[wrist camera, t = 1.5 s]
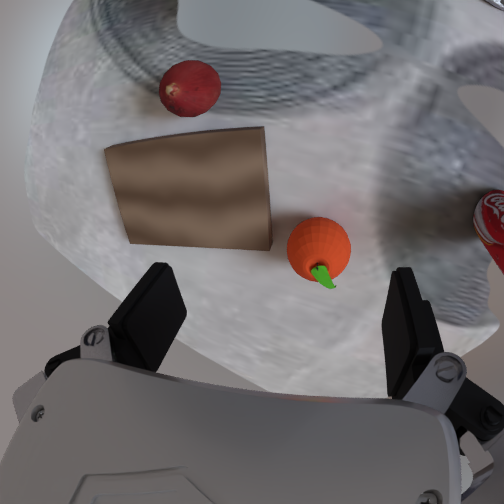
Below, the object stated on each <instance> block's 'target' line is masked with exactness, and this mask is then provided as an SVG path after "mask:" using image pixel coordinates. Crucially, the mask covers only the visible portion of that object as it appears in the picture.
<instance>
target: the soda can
mask: <svg viewBox="0 0 504 504" xmlns="http://www.w3.org/2000/svg"><path fill="white" fill-rule="evenodd" d="M473 224H474V228H475V231H476V233H477V235H478V236H479V238H480V240H481V242H482V243H483V244H484V246H485V247H486V249H487V250H488V252H489V253H490V255H491V256H492V258H493V259H494V261H495V262H496V264H497V265H498V267H499V269H500V270H501V271H502V273H503V275H504V191H502V190H493V191H490V192H488V193H487V194H485V195H484V196H483V197H482V198H481V200H480V201H479V202H478V204H477V206H476V209H475V212H474V217H473Z"/></svg>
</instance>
